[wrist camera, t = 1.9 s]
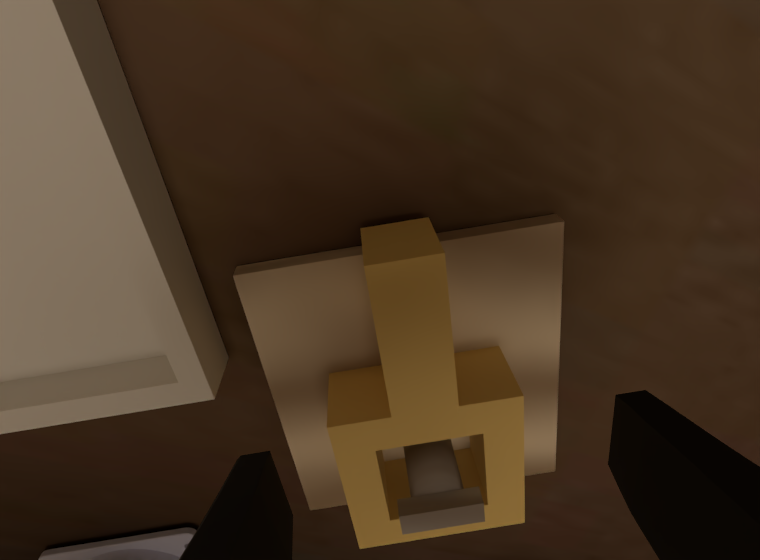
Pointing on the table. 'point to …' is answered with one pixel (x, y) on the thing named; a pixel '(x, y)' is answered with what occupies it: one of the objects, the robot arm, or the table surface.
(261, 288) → the board
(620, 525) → the table surface
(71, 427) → the table surface
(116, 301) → the tray
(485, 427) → the tabbed collar
